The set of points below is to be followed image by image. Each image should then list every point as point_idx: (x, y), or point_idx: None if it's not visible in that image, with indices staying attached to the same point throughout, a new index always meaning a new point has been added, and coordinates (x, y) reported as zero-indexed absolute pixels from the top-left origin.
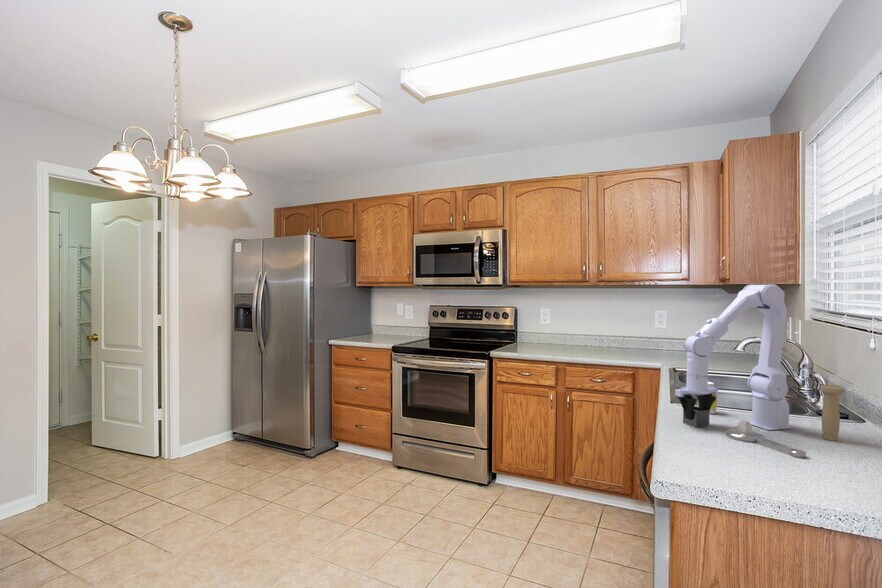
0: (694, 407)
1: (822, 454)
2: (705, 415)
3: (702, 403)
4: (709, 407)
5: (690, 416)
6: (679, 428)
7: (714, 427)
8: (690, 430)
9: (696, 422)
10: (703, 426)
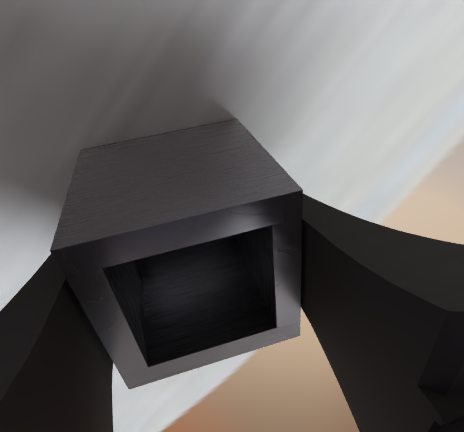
0: (170, 354)
1: None
2: (132, 192)
3: (88, 401)
4: (14, 317)
5: None
6: (385, 103)
7: (32, 123)
8: (347, 40)
9: (247, 135)
10: (150, 138)
